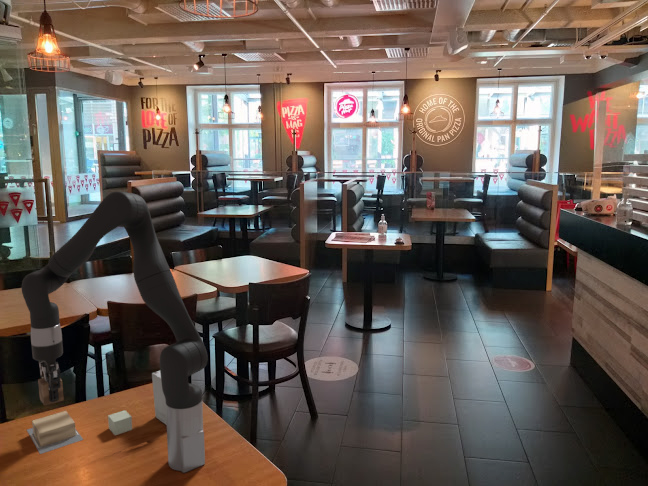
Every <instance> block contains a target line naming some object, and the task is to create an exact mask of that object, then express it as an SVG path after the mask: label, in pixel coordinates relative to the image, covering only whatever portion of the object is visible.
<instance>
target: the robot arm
mask: <svg viewBox="0 0 648 486" xmlns="http://www.w3.org/2000/svg"><path fill="white" fill-rule="evenodd" d="M151 216H152V215H151V211H150V209H149V206H148V204H147V202H146V201H145V199H144V198H143V197H142V196H141V195H139V194H135V193H133V192H126V191H122V190H119V191H113V192H110V193H108V194H107V195H106V196H105V197H104V198H103V199H102V200H101V202H100V203H99V204H98V205H97V207H96V208H95V210H94V211H93V212H92V213H91V214H90V216H88V218H87V219H86V221H85V222H84V223H83V224H82V226H81V227H80V228H79V229H78V230H77V232H76V233H74V235H73V236H72V237H70V239H69V240H67V241H66V242H65V243H64V244H63V245H62V246H61V247H59V248H58V249H57V250H56V251H55V253H53V254H52V255H51V256H50V257H49V259H48V263H47V264H46V265H45V266H44V267H42V268H40V269H38V270H36V271H33V272H30V273H28V274H26V275H25V277H23V280H22V283H21V294H22V296H23V299H24V301H25V304H26V307H27V310H28V312H29V319H30V320H29V321H30V342H31V353H32V359H33V360H35V361H36V362H37V361H38V366H39V374H40V375H39V376H40V379H42V378H45V382H47V384H48V389H49V400H50V402H55V401H58V400H59V395H58V388H60V386H61V385H60V378H61V369H60V367H59V366H60V365H59V363H58V361H56V360H57V359H58V358H60V357H61V356H63V354H64V346H63V345H64V344H63V333H62V327H61V323H60V322H61V321H60V311H59V306H58V304H57V303H55V302H51V301H50V298H49V295H50V294H51V293H54V292H56V291H57V290H59V289H60V288H61V287H62V286H63V285H64V284H65V283H66V282H67V280H68V279H70V276H71V275H72V274H74V273H75V272H76V271H77V270H78V269H80V268H81V267H82V266H83V265H85V263H86V262H87V261H88V260H89V259H90V258H91V256H92V255H93V254H94V251H95V250H96V247H97V245H98V244H99V242H100V241H101V240H102V239H103V238H104V237H105V236H106V235H107V234H109V233H110V232H112V231H113V230H115V229H117V228H118V227H120V228H124V229H125V231H126V233H127V235H128V238H129V240H130V242H131V246H132V249H133V250H132V251H133V271H132V272H133V278H134V281H135V284H136V287H137V289H138V292H139V294H140V296H141V299H142V300H143V302H144V304H145V305H146V306H147V307H148V308H149V309H150V310H152V312H154V313H155V314H156V315H158V316H159V317H160V318H161V319H162V320H163V321H164V322H165V323H167V325H168V326H169V327H170V329H171V332H172V333H173V335H174V337H175V340H176V342H174V343H172V344H170V345H167V346H165V347H164V348H163V349H162V350H161V352H160V356H159V371H160V373H161V382H162V390H163V393H164V396H165V400H166V422H167V425H166V440H167V460H168V461H167V462H168V463H167V464H168V467H170V469H172V470H174V471H179V472H181V473H184V474H185V473H188V472H189V471H190V472H191V471H192V470H194V469H197V468H199V467H202V466H203V465H205V463H206V455H205V453H206V452H205V431H204V413H203V411H204V410H203V409H204V408H203V407H204V406H203V391H202V388H201V386H199V385H197V384H194V383H189V377H190V376H192V375H194V374H196V373H198V372H200V371H202V370H204V369H205V368H206V366H207V365H208V362H209V361H208V360H209V357H208V351H207V349H206V348H207V347H206V346H205V343H204V341H203V339H202V338H201V335H200V333H199V332H198V330H197V328H196V326H195V324H194V322H193V320H192V319H191V316H190V315H189V312H188V310H187V308H186V305H185V303H184V301H183V299H182V296H181V294H180V291H179V288H178V286H177V283H176V280H175V278H174V275H173V273H172V271H171V267H170V266H169V264H168V262H167V259H166V256H165V254H164V251H163V249H162V246H161V244H160V242H159V239H158V237H157V234H156V233H157V232H156V230H155V226H154V223H153V219H152V217H151ZM47 377H49V378H47ZM55 382H56V384H54V385H53V383H55Z"/></svg>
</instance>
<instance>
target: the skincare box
mask: <svg viewBox="0 0 648 486" xmlns="http://www.w3.org/2000/svg"><path fill="white" fill-rule="evenodd" d="M151 379H152V390H153V391H152V392H153V401H154V402H153V403H154V412H155V413H154V414H155V417H156V419H158V420H159V421H160V422H162V423H163V424H164V425H166V426H167V422H166V400H165V396H164V393H163V390H162V382H161V373H160V370H158V371H155V372H151Z"/></svg>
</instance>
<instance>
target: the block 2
mask: <svg viewBox="0 0 648 486" xmlns="http://www.w3.org/2000/svg"><path fill="white" fill-rule="evenodd" d="M107 419H108V420H107V422H108V429H109V430H110V432H111V433H112V434H113V435H114V436H117V435H120V434H124V433H126V432H131V431H132V430H133V420H132V419H133V418H132V415H131V414H129V412H127V410H126V409H125V410H122V411H121V410H120V411H118V412H115V413H111V414H108V415H107Z"/></svg>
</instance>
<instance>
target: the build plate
mask: <svg viewBox="0 0 648 486" xmlns="http://www.w3.org/2000/svg"><path fill="white" fill-rule="evenodd" d="M75 430H76V436H73V437H70V438H67V439H64V440H61V441H58V442H55V443H52V444H49V445H46V446H43V447H41V446H40V444H39V443H38V441H37V439H36V437H35V436H34V434H33V427H30V428H28V429H26V431H27V433H28V435H29V437H30V439H31V440H32V442H33V444H34V446H35V448H36V449H37V451H38V453H39V455H42V454H44V453H48V452H51V451H53V450H54V451H55V450H57V449H60V448H63V447H65V446H69V445H72V444H75V443H77V442H80V441H81V442H82V441H83V440H84V438H83V437H82V435H81V434H80V432H79V431H78V430H77V428H75Z"/></svg>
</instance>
